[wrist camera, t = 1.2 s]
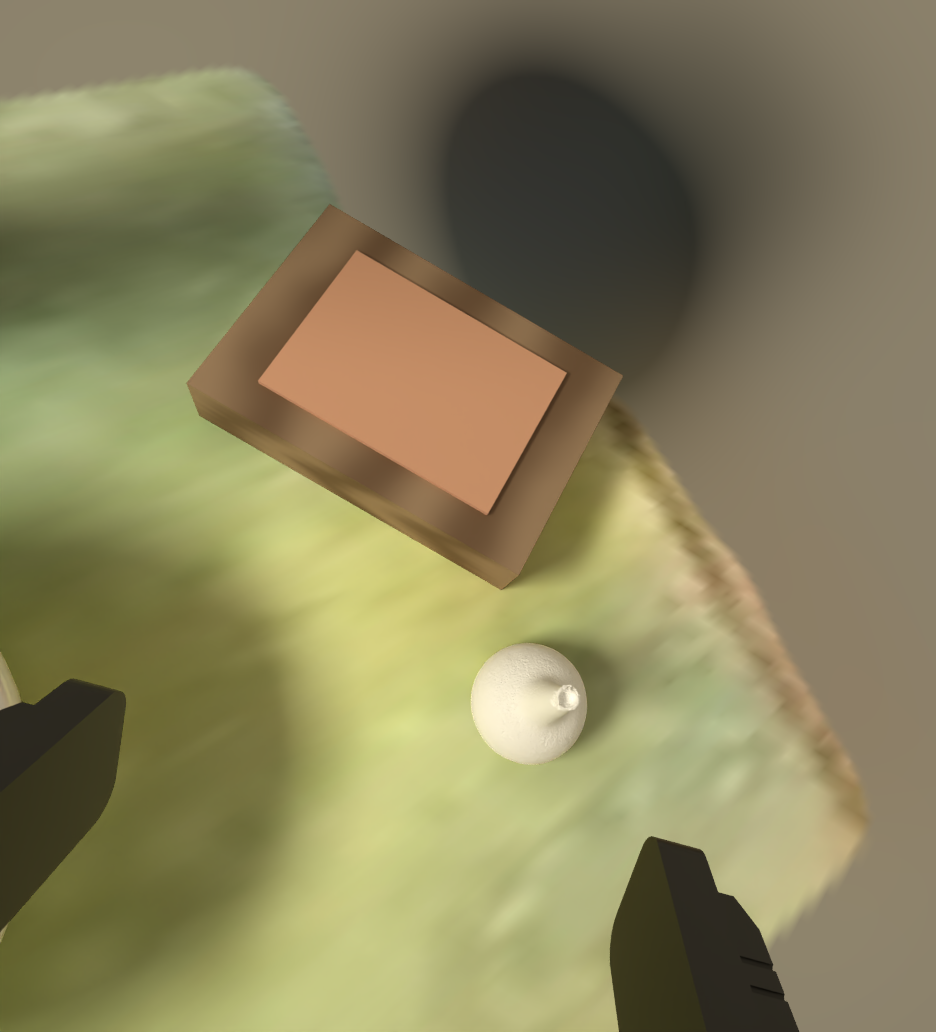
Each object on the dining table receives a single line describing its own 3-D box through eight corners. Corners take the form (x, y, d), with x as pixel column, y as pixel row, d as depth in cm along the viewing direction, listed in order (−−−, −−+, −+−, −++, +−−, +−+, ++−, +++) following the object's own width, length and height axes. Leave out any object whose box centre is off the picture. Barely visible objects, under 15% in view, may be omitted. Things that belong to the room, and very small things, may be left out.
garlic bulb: (444, 699, 39) (459, 703, 32) (522, 621, 41) (556, 606, 33) (523, 785, 39) (559, 810, 31) (600, 702, 40) (652, 706, 33)
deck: (199, 415, 41) (186, 382, 37) (329, 247, 46) (329, 204, 42) (501, 589, 41) (518, 575, 38) (598, 405, 46) (623, 375, 42)
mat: (258, 383, 38) (257, 380, 38) (356, 253, 41) (356, 250, 41) (486, 515, 38) (488, 513, 38) (565, 375, 42) (566, 372, 41)
